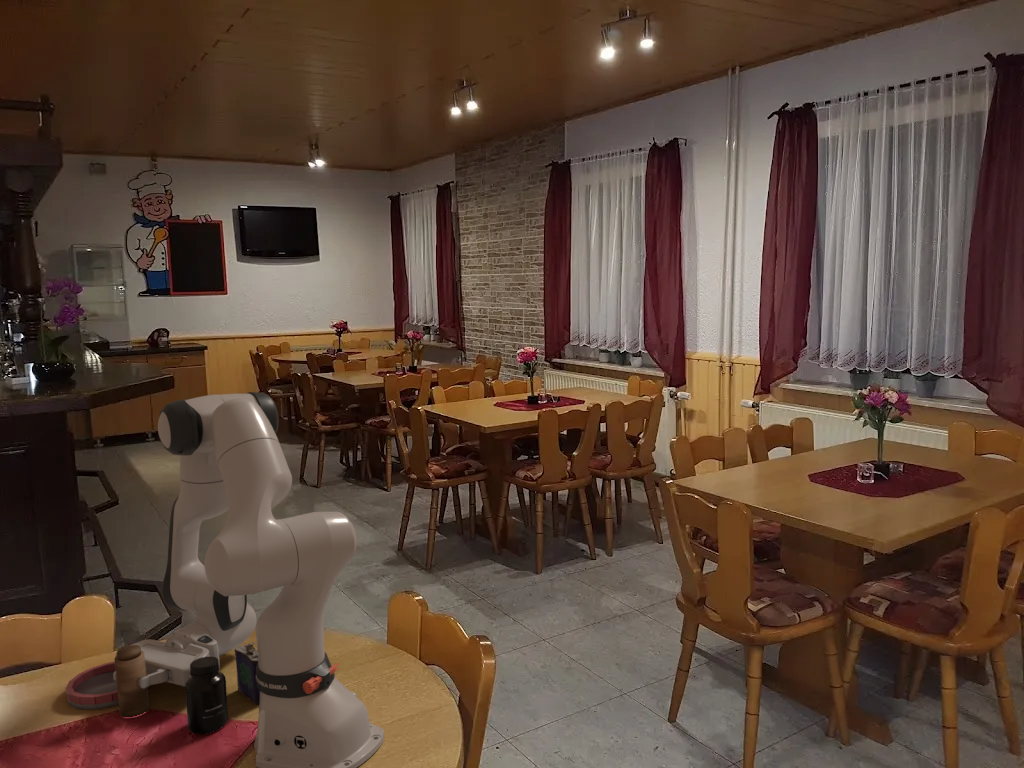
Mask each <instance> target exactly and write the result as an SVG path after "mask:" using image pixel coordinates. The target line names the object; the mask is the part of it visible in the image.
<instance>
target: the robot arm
mask: <svg viewBox="0 0 1024 768" xmlns="http://www.w3.org/2000/svg"><path fill="white" fill-rule="evenodd" d="M277 408H278V407H277V404H276V403H275V400H274V399H273V398H272V397H270V395H268V394H267V393H264V392H258V391H257V392H256V391H248V392H247V393H223V394H222V393H221V394H217V393H216V394H207V395H203V396H197V397H194V398H193V397H192V398H190V399H189V398H188V399H183V398H182V399H178V400H175V401H171V402H169V403H167V404H165V405H164V406H163V408H162V409H161V410H160V411H159V415H158V422H157V433H158V437H159V440H160V441H161V443H162V446H163V448H164V449H165V450H166V451H168V453H170V454H171V455H174V456H180V457H179V458H180V459H179V470H180V471H179V475H180V476H179V478H180V490H179V494H178V496H177V497H176V499H175V500H174V502H173V504H172V507H171V512H170V518H169V528H168V529H169V531H168V548H167V562H166V570H165V574H164V577H163V581H162V585H161V586H162V587H161V590H162V591H161V593H162V598H163V600H164V601H165V604H166V605H167V606H168V607H169V608H170V609H173V610H178V611H183V612H190V613H193V614H196V620H194V622H191V623H189V624H187V625H184V627H180V628H179V629H177V630H175V631H173V632H171V633H170V634H169V635H168V636H167V638H166V642H165V641H160V640H156V639H150V638H148V639H144V640H140V641H138V642H137V641H136V642H135V643H132V644H129V645H128V646H130V645H138V646H140V647H141V651H143V652H144V656H145V667H146V675H143V676H141V677H139V678H138V679H137V687H140V688H146V687H148V686H150V685H151V686H153V685H158V684H162V683H164V682H165V683H169V684H172V685H173V684H174V685H177V686H181V687H185V685H186V682H187V680H188V679H189V678H190V677H191V676H190V664H191V663H192V662H193V661H194V660H196V659H199V658H202V657H216V658H217V659H218V661H219V670H220V656H223V655H225V654H228V653H229V652H231V651H232V650H235V648H237V647H239V646H241V645H242V644H243V643H244V642H246V641H247V640H248V639H249V638H250V637H251V635H252V634H253V633H254V631H255V637H256V651H257V652H258V664H257V666H256V680H257V687H258V689H259V691H260V703H259V705H258V722H257V731H256V737H255V740H254V745H253V747H254V750H255V752H256V756H255V767H257V768H358V767H360V766H361V765H362V764H364V763H365V762H366V761H368V760H369V758H371V757H372V756H373V755H374V754H375V753H376V752H377V750H379V748H380V747H381V746H382V744H383V742H384V740H385V730H384V729H383V727H380V726H378V725H375V724H373V723H372V722H370V716H369V712H368V709H367V707H366V704H365V703H364V702H363V701H362V700H360V699H359V698H358V695H357V694H356V692H354V691H351V690H349V688H347V687H346V686H345V685H344V684H343V683H342V682H341V681H339V679H337V677H336V675H335V673H336V671H338V670H339V669H340V668H339V667H338V666H339V663H338V662H337V663H335V664H334V665H332V663H331V661H330V659H329V657H328V654H327V653H326V650H325V628H324V627H325V624H324V623H325V622H324V620H325V611H326V606H327V602H328V599H329V595H330V592H331V591H332V588H333V586H334V584H335V582H336V581H337V579H338V577H339V575H340V574H341V572H342V571H343V570H344V569H345V568H346V567H347V566H348V564H349V563H351V561H352V559H354V556H355V553H356V551H357V546H358V545H357V544H358V537H357V532H356V529H355V527H354V524H353V523H352V521H351V520H350V519H349V517H347V516H346V515H345V514H344V513H342V512H340V511H313V512H308V513H302V514H298V515H294V516H290V517H286V518H278V519H276V518H275V517H274V515H273V512H272V509H274V508H275V507H277V505H279V504H280V503H281V502H282V501H283V500H284V499H285V498H286V497H287V496H288V495H289V493H290V491H291V488H292V485H293V475H292V473H291V469H290V468H289V465H288V462H287V459H286V456H285V454H284V451H283V448H282V446H281V443H280V441H279V438H278V436H277V432H278V429H279V426H280V425H279V424H280V423H279V422H280V419H279V411H278V409H277ZM226 512H227V516H226V520H225V522H224V525H223V527H222V529H221V530H220V532H219V533H218V535H216V537H215V538H214V539H213V540H212V541H211V542H210V543H209V546H208V547H207V551H206V553H205V556H204V564H203V563H202V562H201V561H200V559H199V556H198V555H199V543H200V528H201V525H202V523H203V522H204V521H208V520H211V519H213V518H216V517H218V516H221V515H222V514H225V513H226ZM280 587H281V588H282V589H281V590H280V592H279V594H278V595H277V596H276V598H275V599H274V600H273V601H272V602H271V603H270V604H268V606H266V607H265V608H264V609H263V611H262V612H261V613H260V615H259V617H258V619H257V615H256V612H255V609H254V608H253V607H252V606H251V605H250V604H249V603H248V595H256V594H260V593H262V592H266V591H270V590H274V589H277V588H280ZM116 656H117V652H115V657H116ZM113 678H114V681H117V680H116V671H115V672H114V673H113ZM151 686H150V687H151Z"/></svg>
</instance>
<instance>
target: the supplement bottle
mask: <svg viewBox="0 0 1024 768" xmlns="http://www.w3.org/2000/svg"><path fill="white" fill-rule="evenodd" d="M219 663H220V660H219V661H218V659H217V658H216V657H202V658H199V659H196V660H194V661H193V662H192V663H191V664H190V676H191V677H190V678H189V679H188V680H187V682H186V685H185V686H184V687H185V701H186V715H187V716H186V717H187V719H186V720H187V727H188V730H189V731H190V733H192V734H194V735H207V734H206V733H209V734H211V733H210V732H213V731H216V730H218V729H220V728H221V727H223V726H224V725H225V724H226V725H227V723H228V721H229V711H228V710H229V709H228V695H227V691H228V690H227V682H226V681H227V680H226V679H227V678H226V676H225V674H224V673H223V672H222V671H220V669H219ZM226 725H225V726H226ZM225 726H224V727H225ZM224 727H223V728H224ZM221 729H222V728H221ZM221 729H220V730H221ZM218 731H219V730H218ZM216 732H217V731H216ZM213 733H214V732H213Z"/></svg>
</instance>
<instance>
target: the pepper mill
mask: <svg viewBox="0 0 1024 768" xmlns="http://www.w3.org/2000/svg"><path fill="white" fill-rule="evenodd" d="M129 645H130V646H129ZM129 645H127V646H123V647H121V648H119V649H118V650H117V651H116V653H117V656H116V655H115V657H114V659H113V660H114V662H115V670H116V680H117V690H118V700H119V704H118V707H119V708H118V711H119V716H122V717H133V716H137V715H140V714H143V713H144V712H147V711H148V710H150V700H149V688H147V687H146V688H140V687H137V679H138V678H139V677H141V676H143V675H146V667H145V656H144V652H143V651H141V647H140V646H138V645H132V644H129ZM148 712H149V711H148ZM148 712H147V713H148Z"/></svg>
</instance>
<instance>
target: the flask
mask: <svg viewBox="0 0 1024 768" xmlns="http://www.w3.org/2000/svg"><path fill="white" fill-rule="evenodd" d="M255 644H256V642H254V641H252V643H251V642H250V643H247V644H246V643H245V644H243V645H239V646H237V647H236V648H234V657H235V666H236V677H237V678H236V680H237V681H236V682H237V692H238V693H239V694H240V695H243V696H244V698H245V699H247V700H250V702H252V703H253V704H254V705H255V706H259V703H260V691H259V689H258V687H257V680H256V666H257V664H258V652H257V648H255V647H254V645H255Z"/></svg>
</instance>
